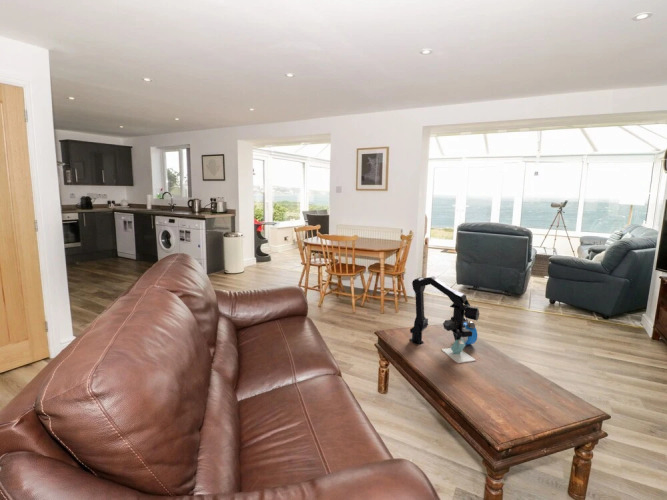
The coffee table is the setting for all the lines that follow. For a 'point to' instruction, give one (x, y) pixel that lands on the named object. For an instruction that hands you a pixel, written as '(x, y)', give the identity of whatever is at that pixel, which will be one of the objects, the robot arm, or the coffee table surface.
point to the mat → (458, 356)
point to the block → (458, 346)
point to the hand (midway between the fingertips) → (456, 342)
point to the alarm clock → (472, 328)
